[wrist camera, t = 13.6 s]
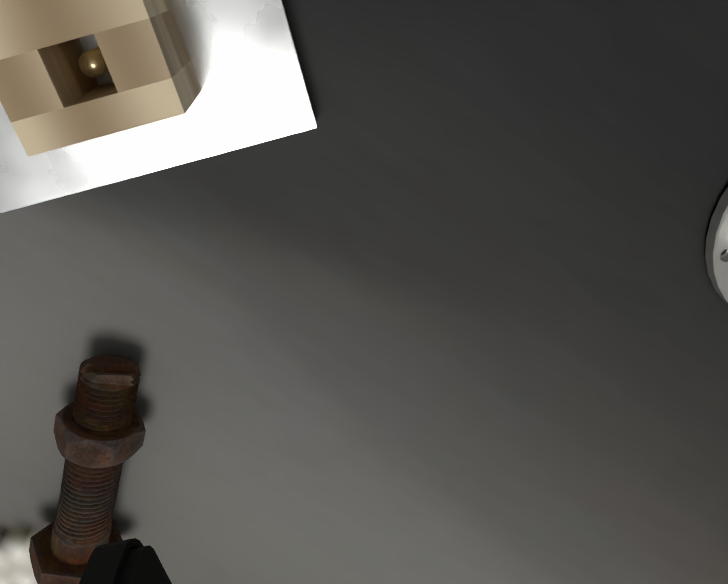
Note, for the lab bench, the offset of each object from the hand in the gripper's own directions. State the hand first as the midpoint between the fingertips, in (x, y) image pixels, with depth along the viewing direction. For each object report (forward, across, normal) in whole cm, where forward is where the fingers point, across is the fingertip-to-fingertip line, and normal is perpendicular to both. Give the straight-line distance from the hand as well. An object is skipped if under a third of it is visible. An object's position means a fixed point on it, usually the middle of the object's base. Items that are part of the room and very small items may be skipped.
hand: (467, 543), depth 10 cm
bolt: (+26, +20, +15) cm, 36 cm away
